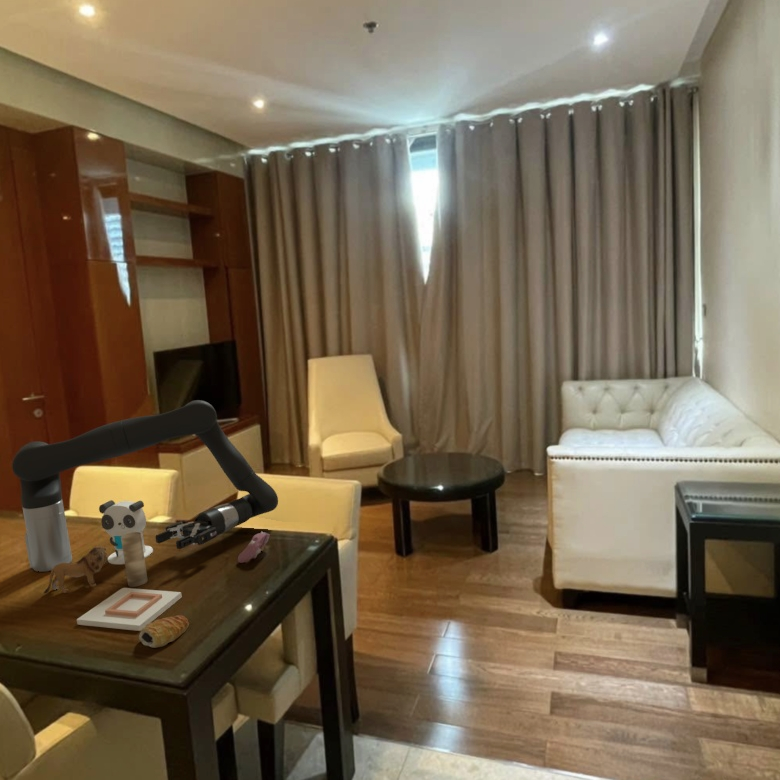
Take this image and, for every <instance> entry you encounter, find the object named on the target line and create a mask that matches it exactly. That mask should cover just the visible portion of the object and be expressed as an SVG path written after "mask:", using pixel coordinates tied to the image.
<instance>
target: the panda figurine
mask: <svg viewBox="0 0 780 780" xmlns="http://www.w3.org/2000/svg"><path fill="white" fill-rule="evenodd" d="M144 506H145V504H144V501H142V500H137V501H136V502H135V501H130V500H122V501H119V502H117V503H115V501H114V500H112V499H111V500H108V501H107V502H105V503H103V504H101V505H99V507H98V510H99V511H98V512H99V513H100V514H103V515H102V516H101V526H102V528H103V530H105V532H106V534H108V535H109V536H110V538H109V542H110V544H111V545H112V546H114V547H113V548H114V552H113V553H111V554H110V555H109V556H108V558H107V562H108V563H109V564H111V565H125V561H124V554H123V548H122V541H121V537H122V536H123V535H125V534H128V533H132V532H140V533H141V539H142V546H143V552H144V559H146V558H148V557H150V556H151V555H152V554H153V552H154V549H153V547H152V546H150V545H145V541H144V534H143V533H144V532H143V531H144V530H145V528H146V526H147V525H146V524H147V516H146V514H145V511H144V509H143V508H144ZM151 553H152V554H151ZM150 554H151V555H150Z"/></svg>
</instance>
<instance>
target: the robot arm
mask: <svg viewBox="0 0 780 780" xmlns="http://www.w3.org/2000/svg"><path fill="white" fill-rule="evenodd" d="M217 418H218V417H217V411H216V409H215V408H214V406H213V405H212V404H210V403H209V402H207V401H205V400H202V399H201V400H200V399H196V400H191V401H189V402H188V403H186V404H185V405H183V406H182V407H178V408H176V409H173V410H170V411H166V412H163V413H160V414H154V415H145V416H137V417H131V418H126V419H122V420H118V421H114V422H111V423H107V424H104V425H101V426H98V427H96V428H92V429H91V430H88V431H87V432H84V433H81V434H80V435H78V436H75V437H73V438H71V439H67V440H64V441H59V442H54V443H50V444H48V443H47V442H45V441H39V440H38V441H31V442H29V443H26V444H24V445H23V446H22V447H21V448H20V449H19V450H18V451H17V453H15V455H14V457H13V459H12V463H11V464H12V465H11V468H12V469H11V470H12V472H13V474H14V475H15V477H17V478H19V482H20V501H21V502H20V503H21V508H22V512H23V518H24V523H25V529H26V532H25V533H24V539H25V546H26V552H27V556H28V562H29V563H28V564H29V568H30V569H33V571H34V572H38V571H39V572H49V571H50V572H51V571H52V569H53V567H54V566H56V565H57V564H60V563H72V561H73V556H72V554H73V553H72V549H71V541H70V537H69V536H70V535H69V531H68V524H67V519H66V514H65V508H64V507H65V506H64V501H63V495H62V482H61V474H60V473H62V472H64V471H67V470H70V469H73V468H76V467H79V466H83V465H89V464H93V463H97V462H101V461H105V460H109V459H113V458H117V457H121V456H124V455H128V454H131V453H132V454H133V453H135V452H138V451H140V450H144V449H147V448H149V447H152V446H154V445H158V444H160V443H163V442H164V441H169V440H172V439H176V438H181V437H186V436H190V435H195V436H197V437H198V438H199V440H200V441H201V442H202V443H204V445H205V446H206V447H207V449H208V450H209V452H210V453H211V454H212V456H213V458H214V459H215V460H216V462H217V464H218V466H220V468H221V470H222V471H223V473H224V474H225V476H226V477H227V478H228V480H229V481H230V482H231V484H233V486H234V488H235V489H236V490H237V491H238V492H245V493H248V494H246V495H244V496H241V497H240V498H237V499H234V500H231V501H229V502H226V503H222V504H220V505H216V506H215V507H212V508H209V509H207V510H205V511H202V512H200V513H198V514H197V516H196V517H195V520H194V521H189V522H186V520H185V519H183V520H181V521H177V522H175V523H173V524H169V525H167V526H165V527H164V529H165V531H163V532H160V533H158V534H156V535H155V542H156V544H162V543H164V542H166V541H169V540H171V539H175V538H178V540H176V541H175V544H176V545H175V546H176V549H179V550H181V549H184V548H186V547H188V546H190V545H192V546H193V545H196V544H197V546H201V545H203V544H205V543H207V542H208V543H209V541H211V540H214V539H215V538H217V537H218V536H220V535H222V534H225V533H227V532H229V531H230V530H233V529H234V528H235V527H238V526H240V525H242V524H243V523H247V521H248V520H250V519H251V518H252V519H253V518H254V517H257V516H260V515H263V514H266V513H267V514H268V513H269V512H272V511H274V510H276V509H277V507H278V505H279V497H278V495H277V494H278V493H276V491H275V489H274V488H273V487H272V486H271V484H268V483H267V482H266V481H265V480H264V479H263V478H261V477H260V476H259V475H258V474H256V472H255V471H254V469H253V468H252V466H251V465H250V464H249V462H248V460H246V458H245V457H244V456H243V454H242V453H241V452H240V451H239V450H238V449H237V447H236V446H235V445H234V444H233V443H232V442H231V441H230V439H229V438H228V436H227V435H226V434H225V433H224V431H223V429H222V428H221V426H220V424H219V422H218V420H217ZM181 533H182V534H181ZM39 572H38V573H39Z"/></svg>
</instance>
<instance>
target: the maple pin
mask: <svg viewBox="0 0 780 780" xmlns="http://www.w3.org/2000/svg"><path fill="white" fill-rule="evenodd" d="M121 541H122V548H123V554H124V561H125V564H124V566H125V572H126V573H125V574H126V580H127V585H128V587H129V588H134V587H135V588H136V587H141V586H143V585H144V584H147V582H148V580H149V579H148V575H147V574H148V573H147V568H146V567H147V566H146V558H144V552H143V546H142V539H141V533H140V532H132V533H128V534H125V535H123V536H122V537H121Z"/></svg>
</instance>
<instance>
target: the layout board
mask: <svg viewBox="0 0 780 780" xmlns="http://www.w3.org/2000/svg"><path fill="white" fill-rule="evenodd" d="M182 597H183V596H182V592H180V591H170V590H155V589H143V588H134V587H122V588H120V589H119V590H117V591H116V592H114V593H112V595H111V594H110V596H109V597H107V598H105V599H104V600H102V601H101V602H100V603H98V604H97V605H95V606H94V607H92V608H91V609H90V610H88V611H87V612H85V613H84V614H82V615H81V616H79V617H78V618H76V624H77V626H78V625H80V626H88V627H96V628H99V627H100V628H108V629H116V630H118V629H119V630H128V631H135V632H136V631H138V632H141V631H142V628H145V627H146V625H147V624H149V623H153V622H154V621H155V620H157V618H158V617H159V616H161V615H162V614H163V613H164V612H166V611H167V610H168V609H169V608H171V607H172V606H173V605H174V604H176V603H177V602H178V601H179V600H180V599H181V598H182Z"/></svg>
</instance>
